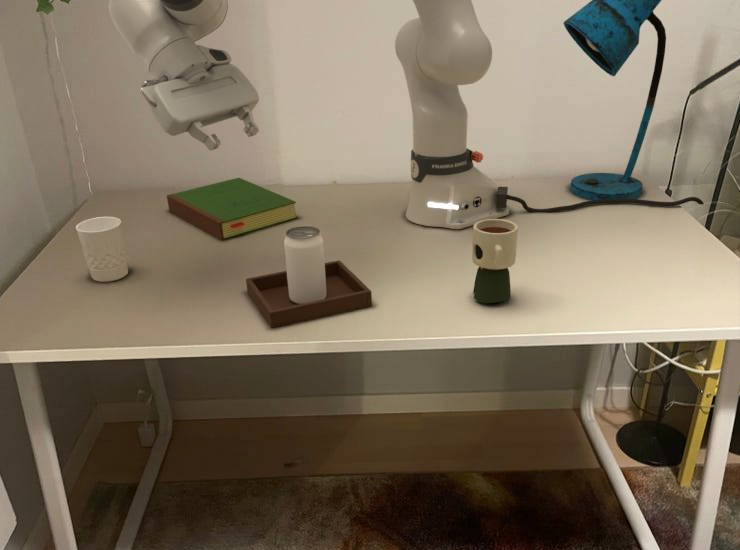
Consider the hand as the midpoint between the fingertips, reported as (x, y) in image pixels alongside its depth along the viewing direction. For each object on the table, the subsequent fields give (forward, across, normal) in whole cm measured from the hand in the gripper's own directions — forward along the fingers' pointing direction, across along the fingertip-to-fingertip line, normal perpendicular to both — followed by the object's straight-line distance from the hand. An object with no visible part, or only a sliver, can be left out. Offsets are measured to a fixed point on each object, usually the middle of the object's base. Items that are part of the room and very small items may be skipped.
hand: (235, 140), depth 122 cm
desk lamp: (+44, +78, -9) cm, 91 cm away
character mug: (+46, +15, -10) cm, 50 cm away
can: (+27, 0, +9) cm, 29 cm away
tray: (+27, 0, +9) cm, 29 cm away
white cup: (0, -10, +37) cm, 39 cm away
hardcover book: (-1, +26, +38) cm, 46 cm away
